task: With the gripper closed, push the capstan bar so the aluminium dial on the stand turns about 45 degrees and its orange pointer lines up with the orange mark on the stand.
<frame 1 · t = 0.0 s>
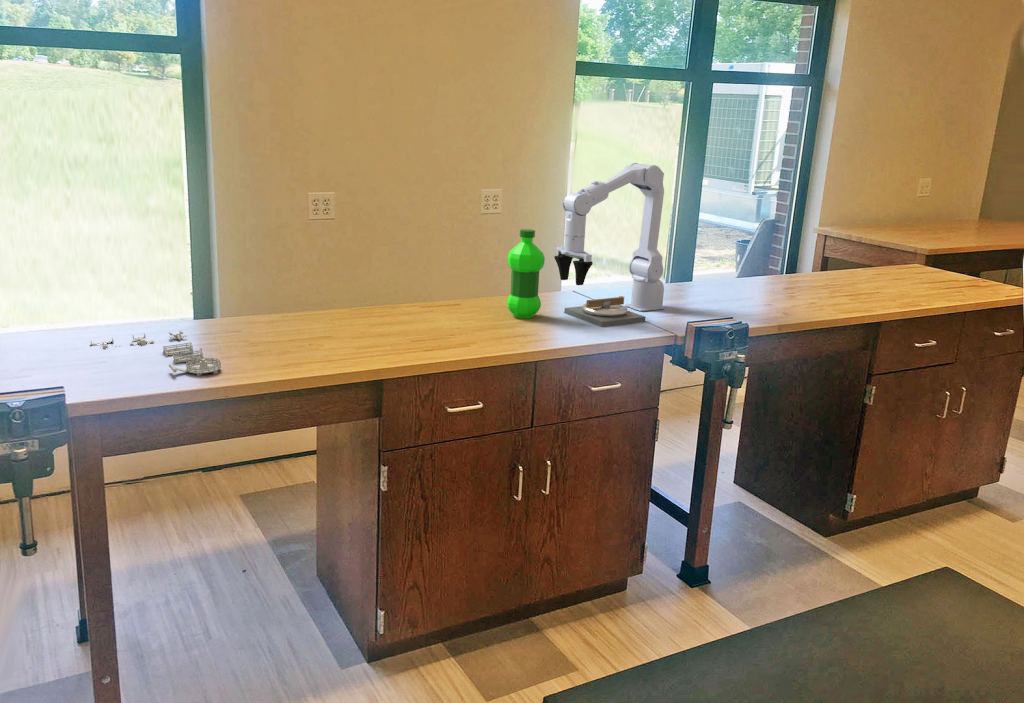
hand: (571, 282, 255), 10 cm above the workbench, tool pointing down, fingers open, 7 cm apart
plastic bottle: (523, 317, 255), on the workbench
drone parts: (152, 361, 200), on the workbench
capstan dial: (605, 304, 258), point 4 cm above the workbench, hinge at 0.0°
stand plate: (604, 317, 259), on the workbench
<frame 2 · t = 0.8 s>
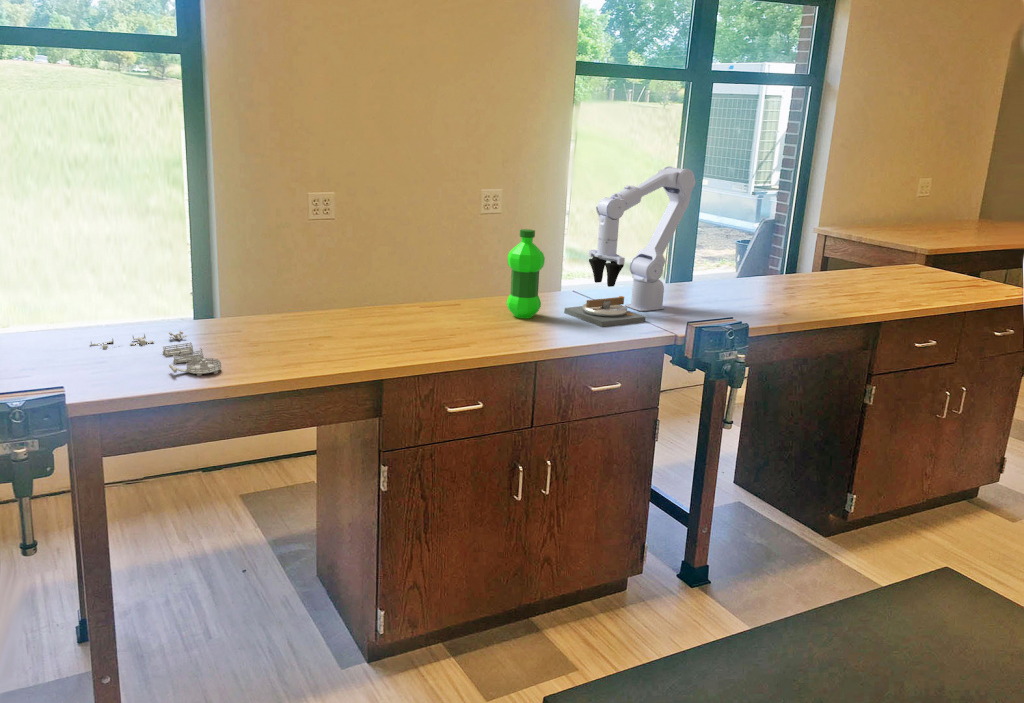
hand: (604, 284, 263), 8 cm above the workbench, tool pointing down, fingers open, 6 cm apart
nothing on the workbench moved.
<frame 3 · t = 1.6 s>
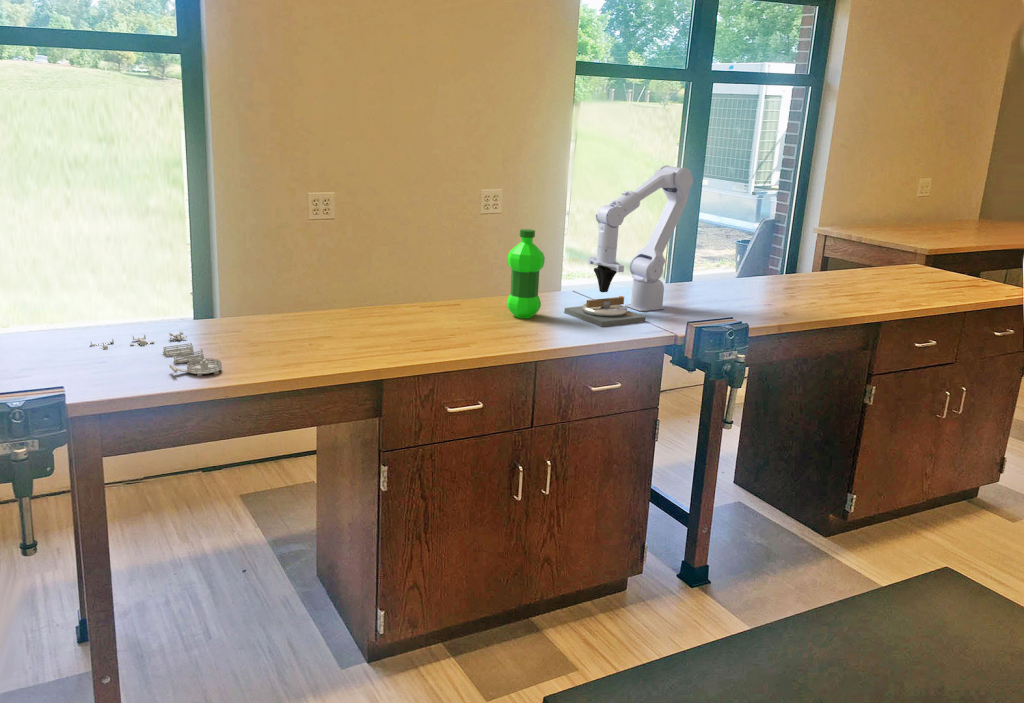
hand: (603, 291, 264), 6 cm above the workbench, tool pointing down, fingers closed
nothing on the workbench moved.
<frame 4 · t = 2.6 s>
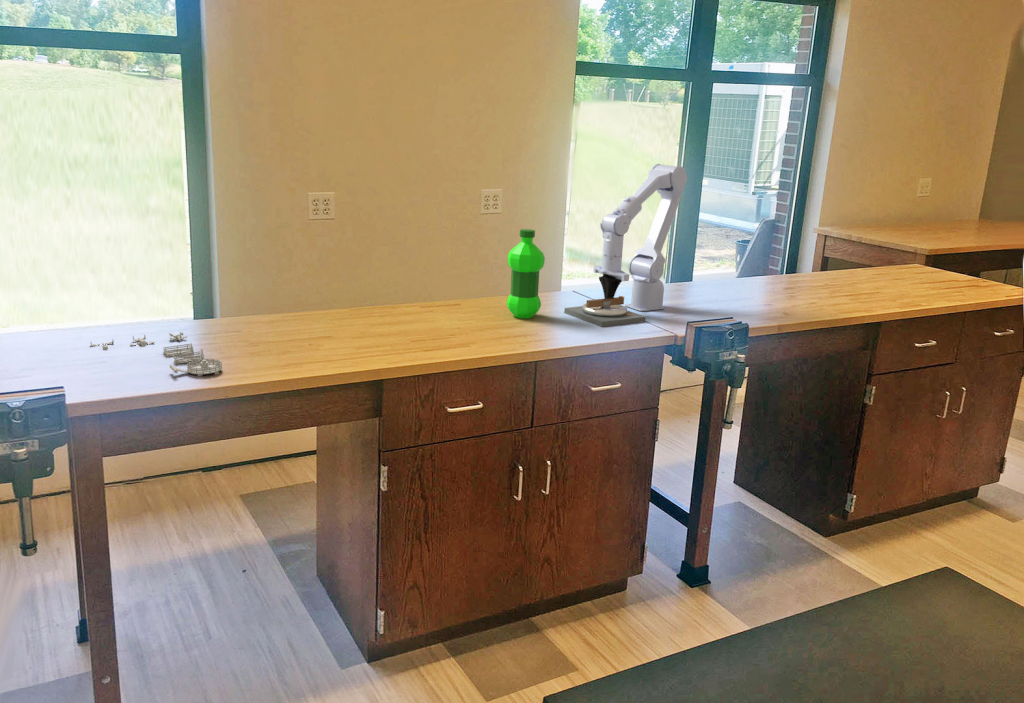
hand: (608, 300, 262), 4 cm above the workbench, tool pointing down, fingers closed
nothing on the workbench moved.
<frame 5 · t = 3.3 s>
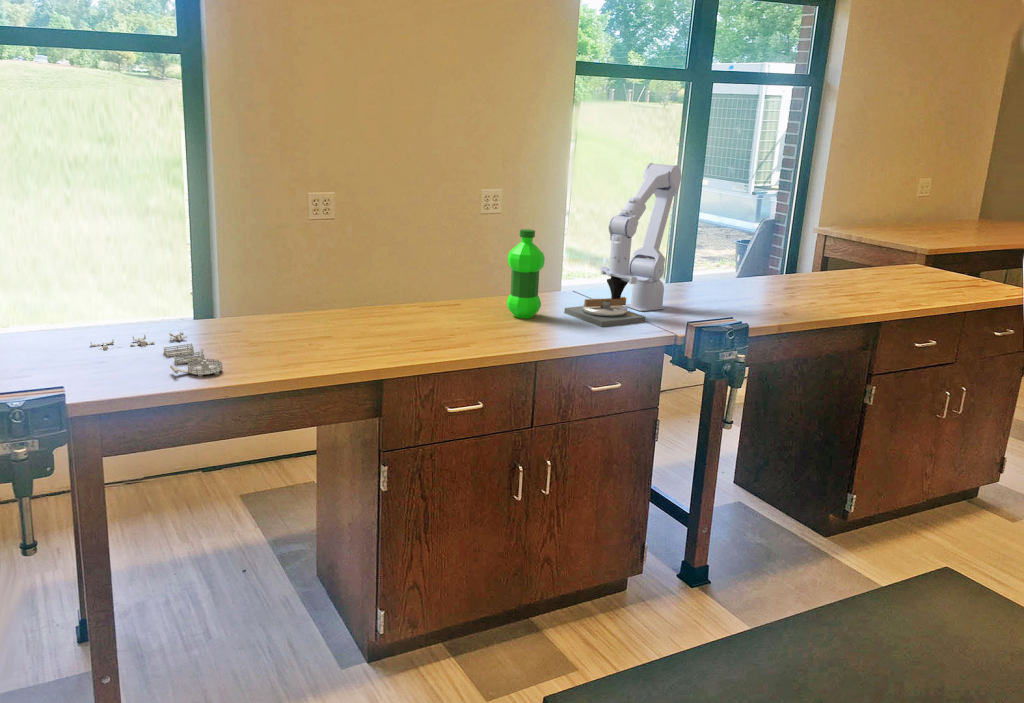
hand: (616, 302, 260), 4 cm above the workbench, tool pointing down, fingers closed, pressing on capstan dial
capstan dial: (605, 304, 258), point 4 cm above the workbench, hinge at -11.5°, touching gripper
everything else where it was.
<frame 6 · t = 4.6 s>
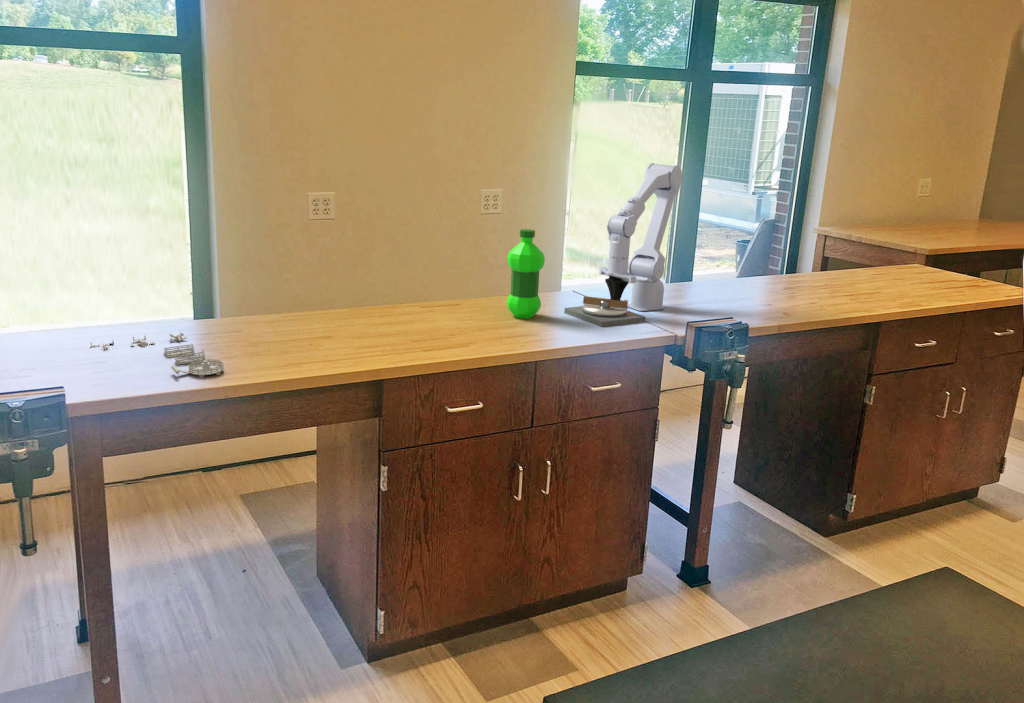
hand: (615, 302, 260), 4 cm above the workbench, tool pointing down, fingers closed
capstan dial: (605, 304, 258), point 4 cm above the workbench, hinge at -50.7°
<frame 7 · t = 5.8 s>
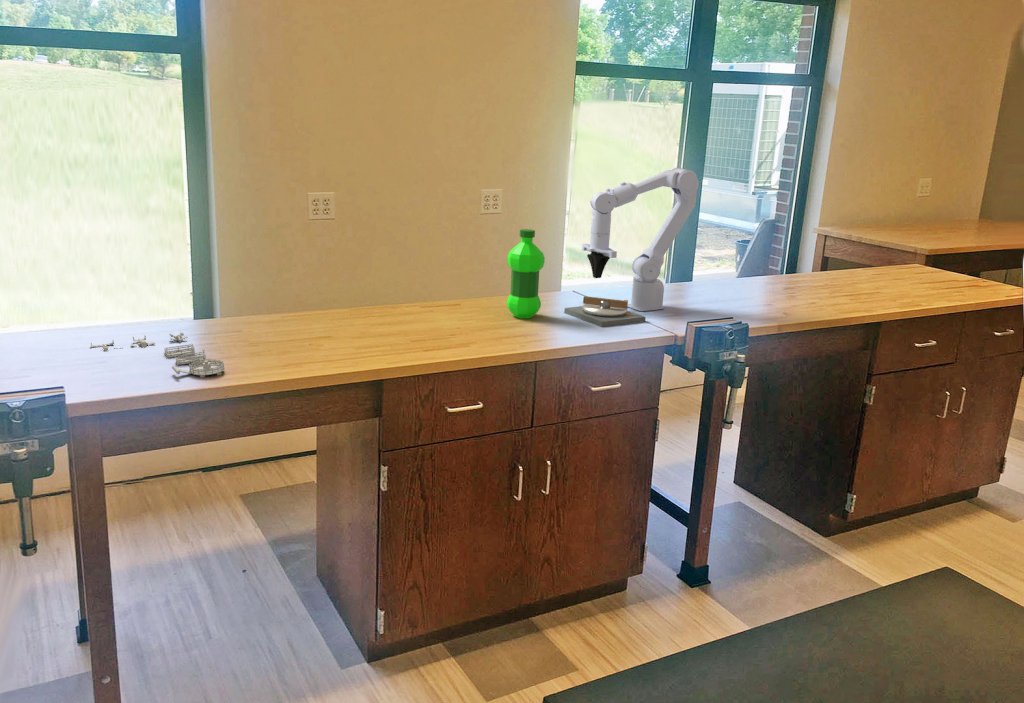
hand: (597, 277, 268), 9 cm above the workbench, tool pointing down, fingers closed
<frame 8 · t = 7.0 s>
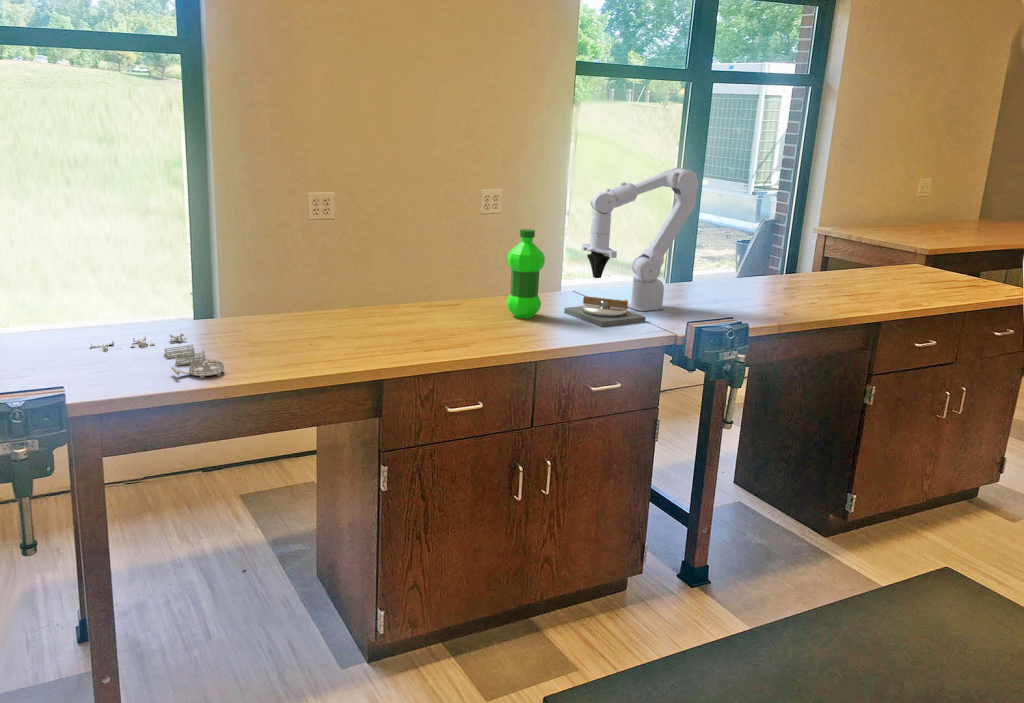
hand: (597, 277, 268), 9 cm above the workbench, tool pointing down, fingers closed
at the end: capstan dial at -51° (first picture: +0°) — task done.
